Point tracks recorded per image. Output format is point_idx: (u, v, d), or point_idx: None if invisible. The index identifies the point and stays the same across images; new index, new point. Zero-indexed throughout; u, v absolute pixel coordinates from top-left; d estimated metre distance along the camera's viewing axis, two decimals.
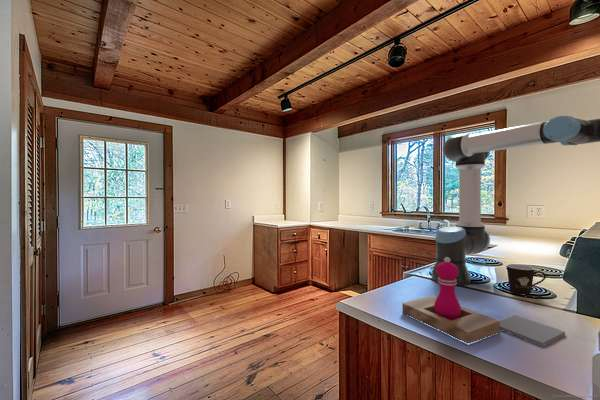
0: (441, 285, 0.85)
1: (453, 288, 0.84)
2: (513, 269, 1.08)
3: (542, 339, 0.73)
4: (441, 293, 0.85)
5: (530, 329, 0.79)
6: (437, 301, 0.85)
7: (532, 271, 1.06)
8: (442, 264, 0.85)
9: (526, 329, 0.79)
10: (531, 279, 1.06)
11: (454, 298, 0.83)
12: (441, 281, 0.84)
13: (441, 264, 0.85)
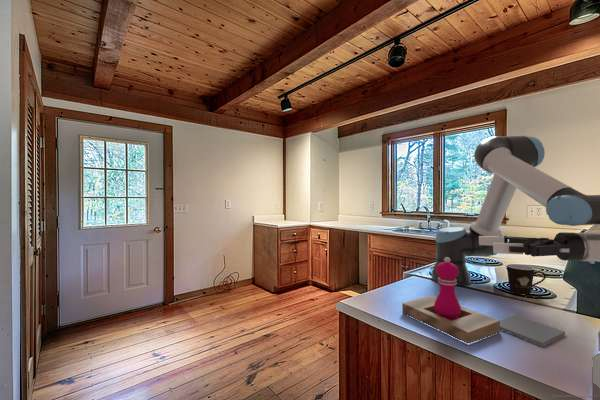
0: (441, 285, 0.85)
1: (453, 288, 0.84)
2: (513, 269, 1.08)
3: (542, 339, 0.73)
4: (441, 293, 0.85)
5: (530, 329, 0.79)
6: (437, 301, 0.85)
7: (532, 271, 1.06)
8: (442, 264, 0.85)
9: (526, 329, 0.79)
10: (531, 279, 1.06)
11: (454, 298, 0.83)
12: (441, 281, 0.84)
13: (441, 264, 0.85)
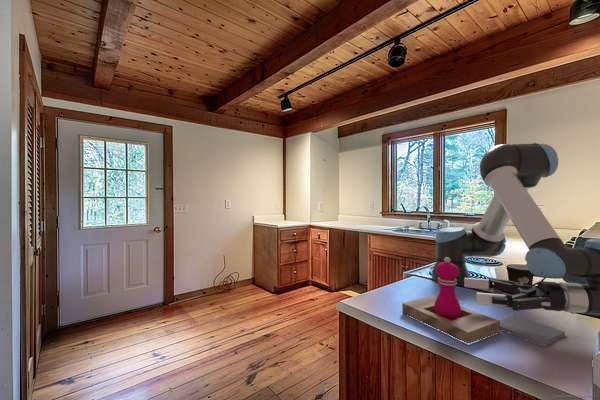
0: (441, 285, 0.85)
1: (453, 288, 0.84)
2: (513, 269, 1.08)
3: (542, 339, 0.73)
4: (441, 293, 0.85)
5: (530, 329, 0.79)
6: (437, 301, 0.85)
7: None
8: (442, 264, 0.85)
9: (526, 329, 0.79)
10: (531, 279, 1.06)
11: (454, 298, 0.83)
12: (441, 281, 0.84)
13: (441, 264, 0.85)
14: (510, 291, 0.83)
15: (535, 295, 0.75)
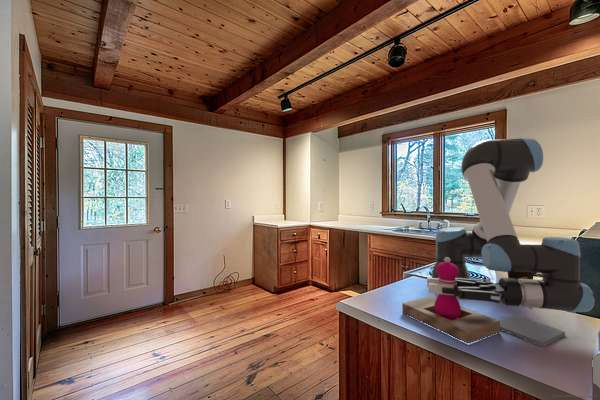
0: None
1: None
2: None
3: (542, 339, 0.73)
4: None
5: (530, 329, 0.79)
6: (437, 301, 0.85)
7: None
8: (442, 264, 0.85)
9: (526, 329, 0.79)
10: (531, 279, 1.06)
11: (454, 298, 0.83)
12: (441, 281, 0.84)
13: (441, 264, 0.85)
14: None
15: (493, 290, 0.79)
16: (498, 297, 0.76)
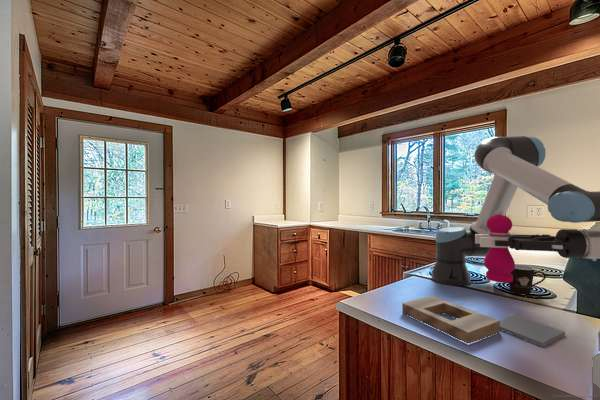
0: None
1: None
2: None
3: (542, 339, 0.73)
4: (493, 247, 0.80)
5: (530, 329, 0.79)
6: (488, 256, 0.80)
7: (532, 271, 1.06)
8: (494, 216, 0.80)
9: (526, 329, 0.79)
10: (531, 279, 1.06)
11: (508, 252, 0.78)
12: (493, 234, 0.80)
13: (493, 217, 0.80)
14: None
15: (553, 241, 0.74)
16: (561, 246, 0.70)
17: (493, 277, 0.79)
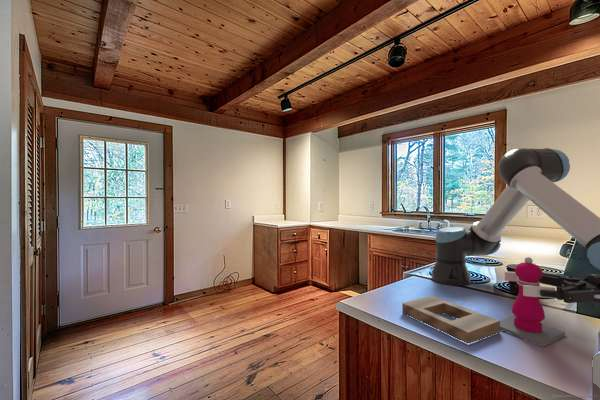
0: (522, 287, 0.79)
1: None
2: (513, 269, 1.08)
3: (542, 339, 0.73)
4: (523, 295, 0.79)
5: None
6: (517, 304, 0.79)
7: None
8: (524, 265, 0.78)
9: None
10: None
11: (538, 301, 0.77)
12: (523, 283, 0.78)
13: (522, 265, 0.79)
14: (555, 284, 0.80)
15: (586, 288, 0.73)
16: None
17: (522, 326, 0.78)
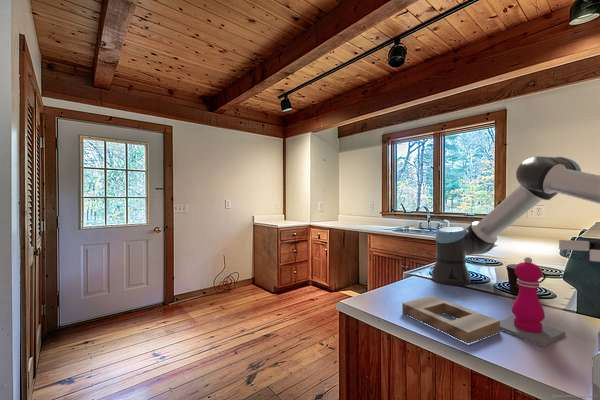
0: (522, 287, 0.79)
1: (536, 290, 0.78)
2: (513, 269, 1.08)
3: (542, 339, 0.73)
4: (522, 295, 0.79)
5: None
6: (517, 304, 0.79)
7: None
8: (523, 265, 0.79)
9: None
10: None
11: (537, 301, 0.77)
12: (522, 283, 0.79)
13: (522, 265, 0.79)
14: None
15: None
16: None
17: (522, 326, 0.78)
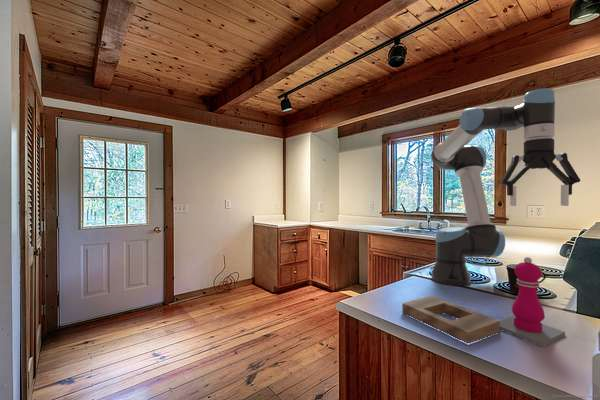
0: (522, 287, 0.79)
1: (536, 290, 0.78)
2: (513, 269, 1.08)
3: (542, 339, 0.73)
4: (522, 295, 0.79)
5: None
6: (517, 304, 0.79)
7: None
8: (523, 265, 0.79)
9: None
10: None
11: (537, 301, 0.77)
12: (522, 283, 0.79)
13: (522, 265, 0.79)
14: (553, 170, 0.89)
15: None
16: (513, 156, 0.93)
17: (522, 326, 0.78)
